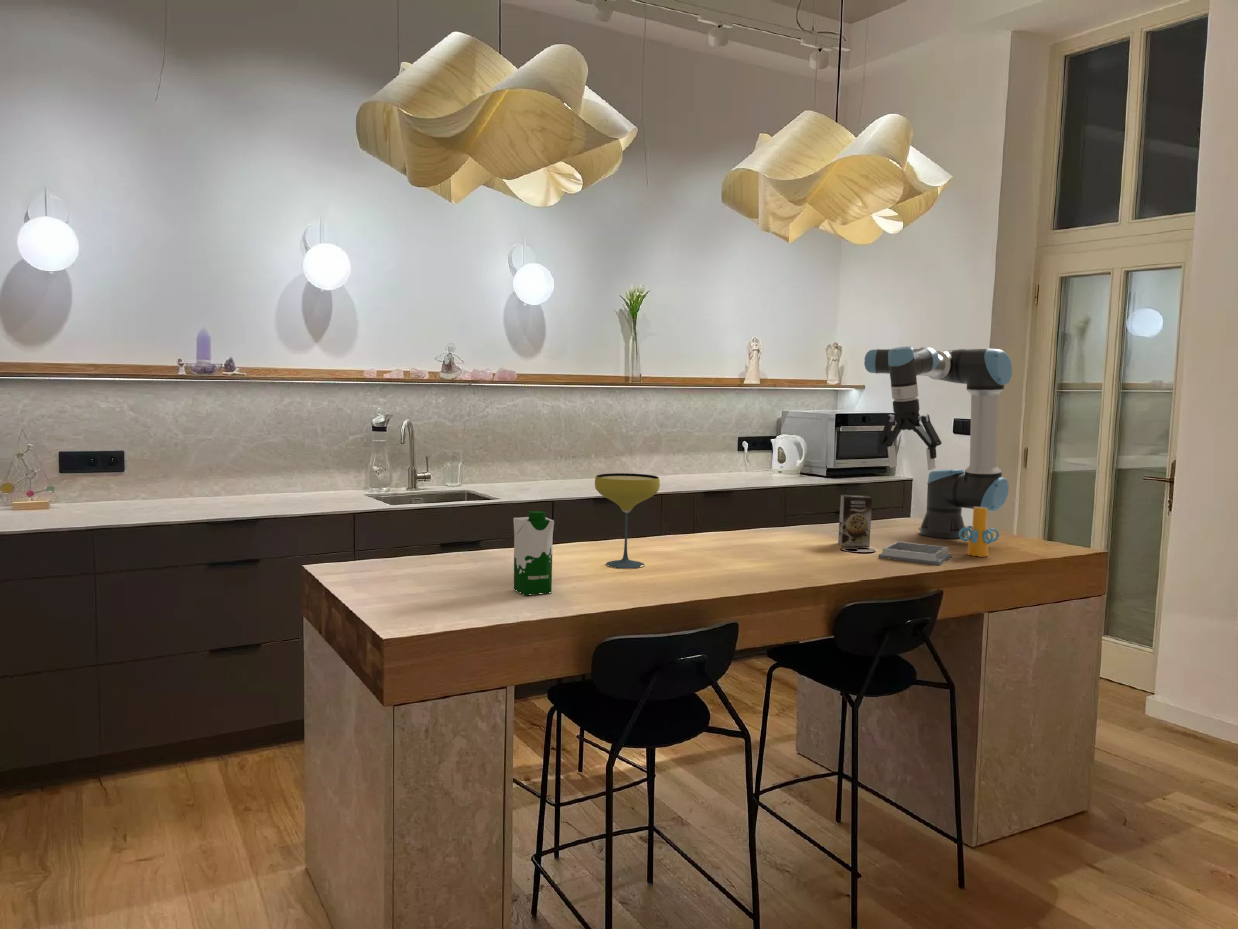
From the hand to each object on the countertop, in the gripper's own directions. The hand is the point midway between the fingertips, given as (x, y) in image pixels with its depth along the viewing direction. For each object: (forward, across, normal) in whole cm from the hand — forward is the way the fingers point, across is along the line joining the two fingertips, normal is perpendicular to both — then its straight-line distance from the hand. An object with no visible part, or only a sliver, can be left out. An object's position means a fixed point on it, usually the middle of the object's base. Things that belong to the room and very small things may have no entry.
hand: (912, 467), depth 284 cm
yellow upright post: (+31, +10, +15) cm, 36 cm away
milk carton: (+2, -22, -126) cm, 127 cm away
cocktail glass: (+9, -35, -87) cm, 94 cm away
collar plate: (+27, +2, -6) cm, 27 cm away
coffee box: (+26, -22, -4) cm, 35 cm away
